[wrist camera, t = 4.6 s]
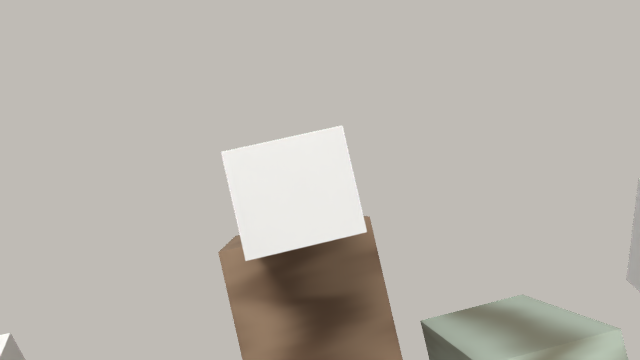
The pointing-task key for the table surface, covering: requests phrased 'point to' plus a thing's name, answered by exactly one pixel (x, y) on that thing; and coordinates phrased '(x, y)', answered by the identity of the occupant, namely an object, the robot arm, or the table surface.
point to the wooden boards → (385, 313)
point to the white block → (293, 192)
